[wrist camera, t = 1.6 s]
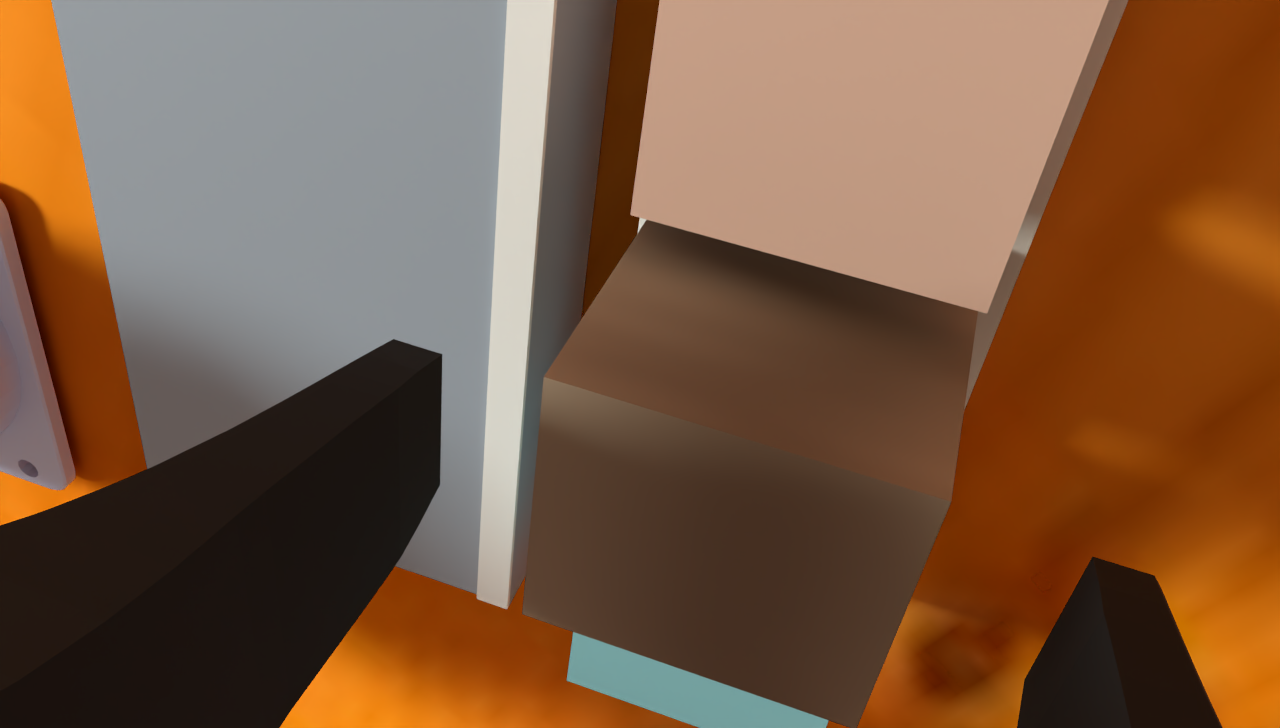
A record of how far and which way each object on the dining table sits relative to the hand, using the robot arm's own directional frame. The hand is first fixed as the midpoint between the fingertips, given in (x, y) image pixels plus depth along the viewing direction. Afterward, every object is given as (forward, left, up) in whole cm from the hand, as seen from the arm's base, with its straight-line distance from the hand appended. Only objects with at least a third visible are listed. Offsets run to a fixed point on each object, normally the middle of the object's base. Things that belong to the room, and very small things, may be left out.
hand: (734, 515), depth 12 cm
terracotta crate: (0, +4, -4) cm, 6 cm away
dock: (-8, 0, -6) cm, 10 cm away
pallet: (0, 0, -6) cm, 6 cm away
